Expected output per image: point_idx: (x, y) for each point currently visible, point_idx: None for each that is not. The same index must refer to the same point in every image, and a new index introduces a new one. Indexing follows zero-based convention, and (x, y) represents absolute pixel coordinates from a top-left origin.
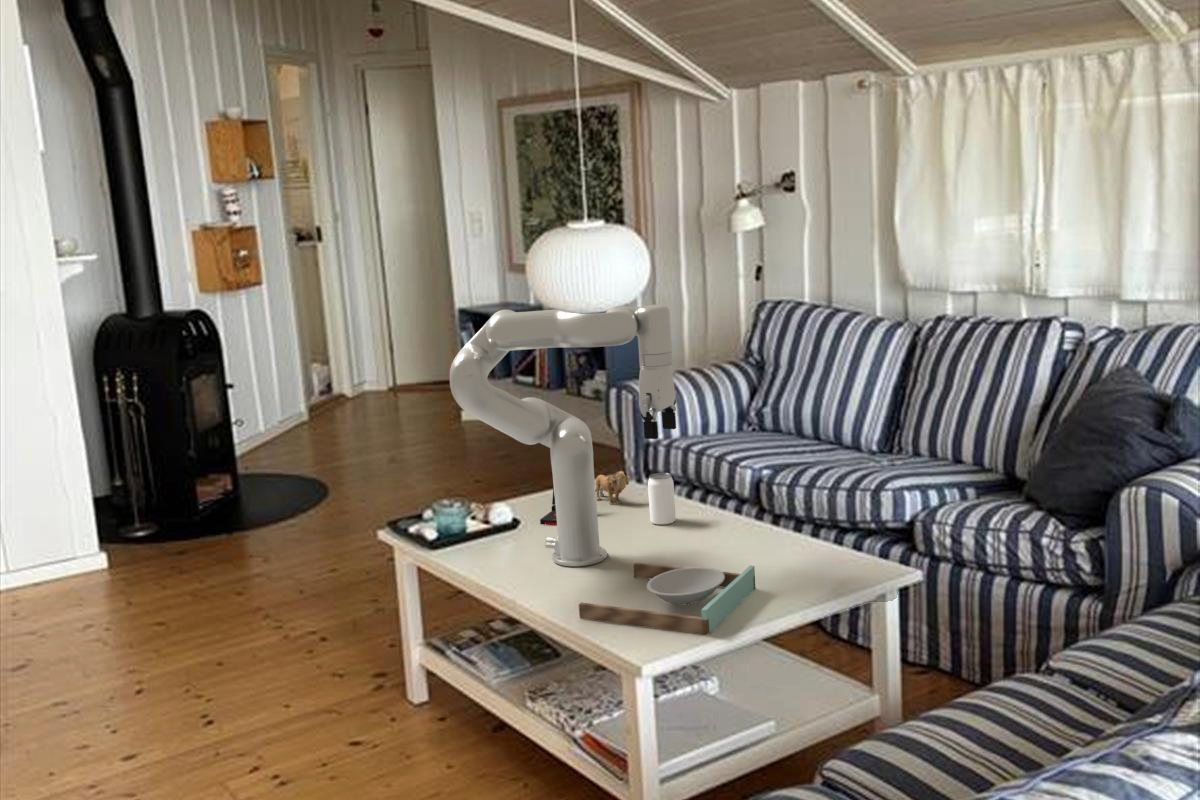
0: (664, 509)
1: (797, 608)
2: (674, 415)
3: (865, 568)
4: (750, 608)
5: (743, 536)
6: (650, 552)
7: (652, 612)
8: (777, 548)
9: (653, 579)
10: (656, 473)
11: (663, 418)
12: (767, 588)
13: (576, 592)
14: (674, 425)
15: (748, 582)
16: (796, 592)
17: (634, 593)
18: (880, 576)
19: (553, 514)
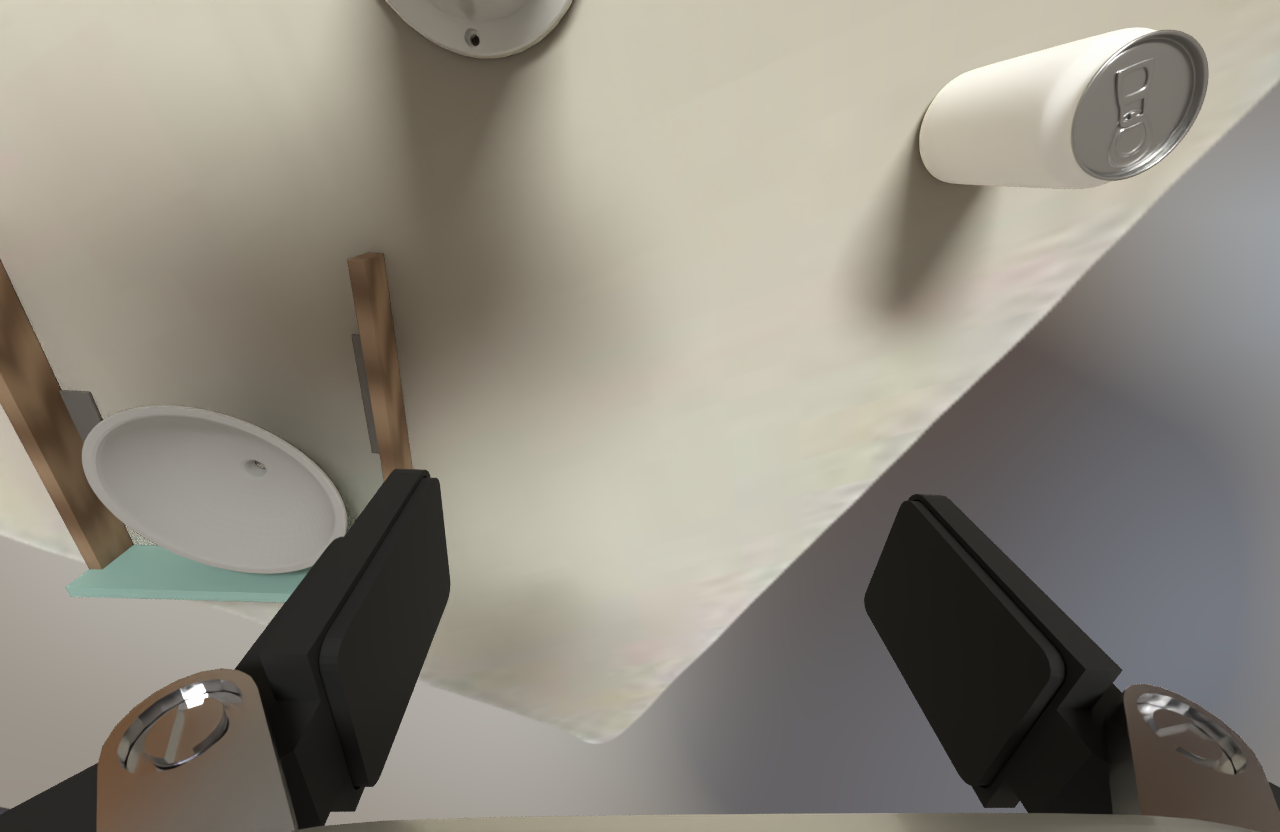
0: (954, 155)
1: None
2: (954, 758)
3: (609, 691)
4: None
5: (795, 441)
6: (611, 214)
7: (36, 459)
8: (705, 537)
9: (170, 415)
10: (1205, 61)
11: (979, 601)
12: None
13: (137, 96)
14: (885, 633)
15: None
16: (438, 629)
17: (247, 306)
18: (573, 715)
19: None
